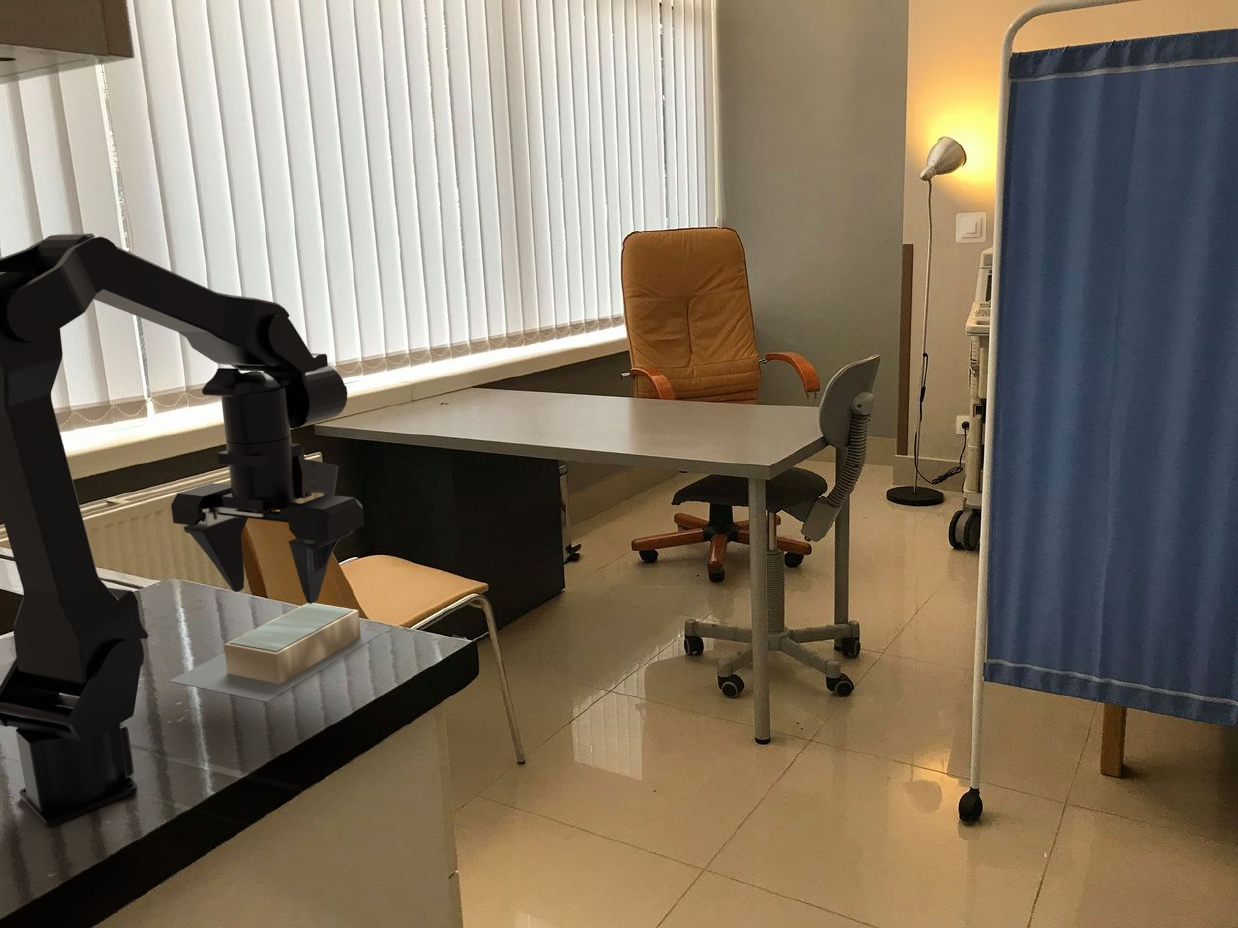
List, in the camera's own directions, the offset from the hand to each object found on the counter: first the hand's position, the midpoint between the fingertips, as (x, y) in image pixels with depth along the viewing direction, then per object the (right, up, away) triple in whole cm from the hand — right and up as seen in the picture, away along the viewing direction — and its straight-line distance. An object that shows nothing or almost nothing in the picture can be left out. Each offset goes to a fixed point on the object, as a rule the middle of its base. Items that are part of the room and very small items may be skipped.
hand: (275, 596), depth 97 cm
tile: (-2, -6, -2) cm, 7 cm away
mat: (-1, -7, +4) cm, 8 cm away
